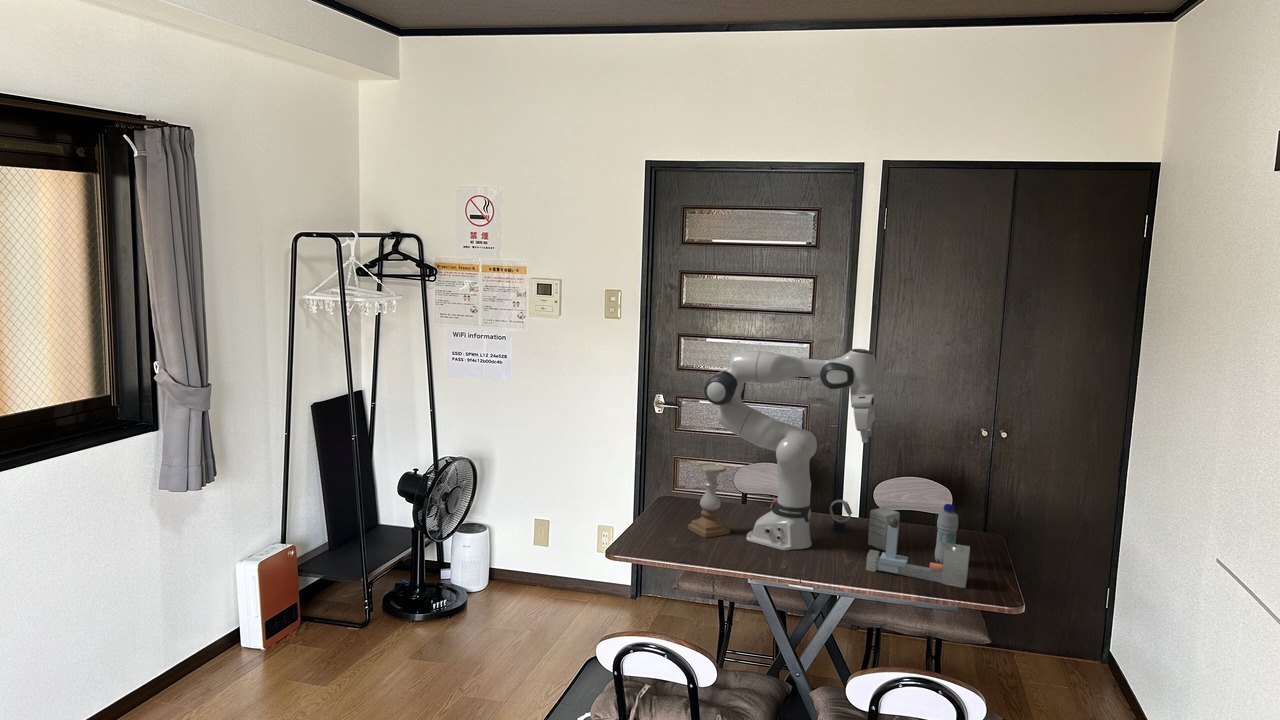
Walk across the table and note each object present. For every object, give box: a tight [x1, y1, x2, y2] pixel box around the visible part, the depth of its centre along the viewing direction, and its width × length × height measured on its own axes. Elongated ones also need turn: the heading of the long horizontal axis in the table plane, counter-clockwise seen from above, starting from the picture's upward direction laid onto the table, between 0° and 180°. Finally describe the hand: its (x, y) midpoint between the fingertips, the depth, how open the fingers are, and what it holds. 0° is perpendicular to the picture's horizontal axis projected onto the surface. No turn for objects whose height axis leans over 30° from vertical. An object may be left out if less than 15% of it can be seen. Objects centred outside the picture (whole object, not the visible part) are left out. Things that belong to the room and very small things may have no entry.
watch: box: [829, 499, 853, 533], centre depth 312 cm, size 6×8×11 cm
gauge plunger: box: [928, 562, 943, 571], centre depth 266 cm, size 7×2×2 cm, turn 65°
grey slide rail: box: [865, 543, 971, 589], centre depth 270 cm, size 30×8×11 cm, turn 65°
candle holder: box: [687, 462, 730, 539], centre depth 303 cm, size 11×11×24 cm
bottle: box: [934, 503, 959, 564], centre depth 282 cm, size 7×7×20 cm
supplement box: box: [867, 506, 900, 551], centre depth 296 cm, size 7×7×13 cm
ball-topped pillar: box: [879, 517, 909, 574], centre depth 271 cm, size 8×6×17 cm
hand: (866, 439), depth 281 cm, fingers open, 8 cm apart
